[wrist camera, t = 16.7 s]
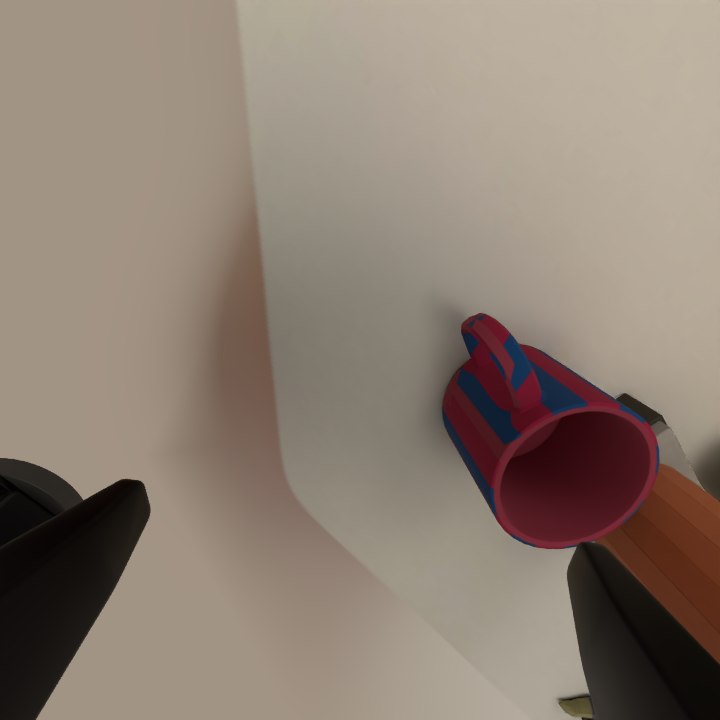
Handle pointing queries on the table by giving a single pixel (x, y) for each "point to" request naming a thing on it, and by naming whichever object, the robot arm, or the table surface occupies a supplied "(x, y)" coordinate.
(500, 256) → the table surface
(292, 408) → the table surface
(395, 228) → the table surface
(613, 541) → the pipe
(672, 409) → the table surface
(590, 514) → the cup
